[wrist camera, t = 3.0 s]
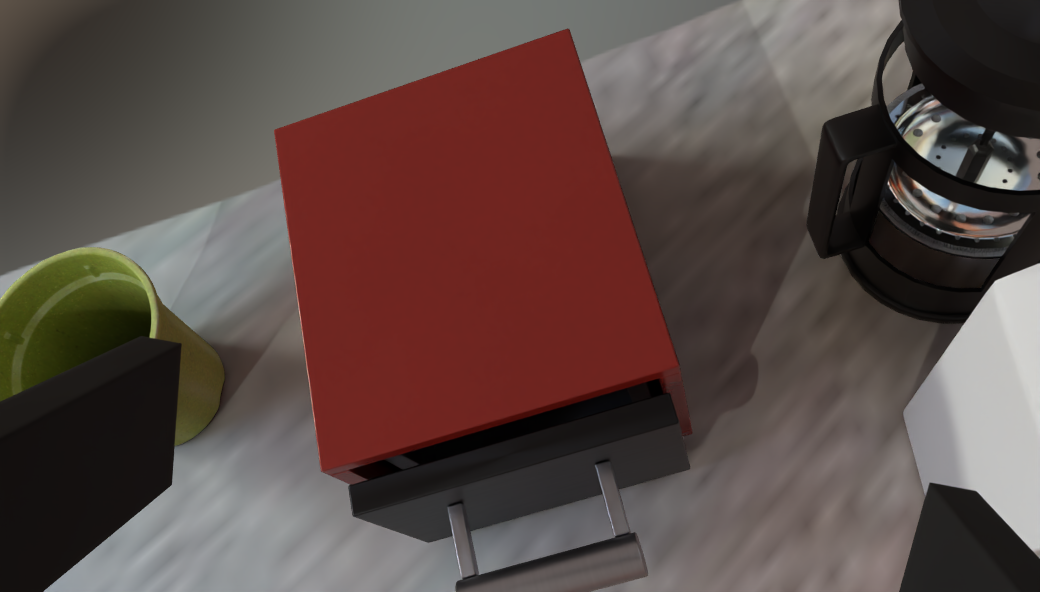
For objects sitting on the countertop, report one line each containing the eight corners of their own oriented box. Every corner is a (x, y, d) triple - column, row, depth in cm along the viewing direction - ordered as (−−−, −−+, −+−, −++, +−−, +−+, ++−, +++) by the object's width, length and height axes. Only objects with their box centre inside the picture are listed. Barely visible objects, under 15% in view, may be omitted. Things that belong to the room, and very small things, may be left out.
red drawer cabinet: (693, 433, 40) (680, 365, 31) (415, 513, 42) (320, 472, 32) (602, 155, 47) (568, 27, 37) (365, 232, 48) (273, 129, 39)
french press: (1012, 113, 42) (1279, -403, 22) (1109, 285, 39) (1547, -143, 18) (773, 187, 44) (807, -231, 23) (843, 359, 40) (960, 45, 19)
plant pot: (150, 519, 45) (25, 492, 37) (68, 394, 49) (-60, 345, 41) (287, 392, 46) (194, 338, 38) (196, 278, 50) (95, 209, 42)
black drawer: (722, 570, 37) (719, 548, 29) (446, 644, 38) (370, 642, 30) (603, 194, 45) (575, 96, 37) (377, 267, 46) (302, 187, 38)
